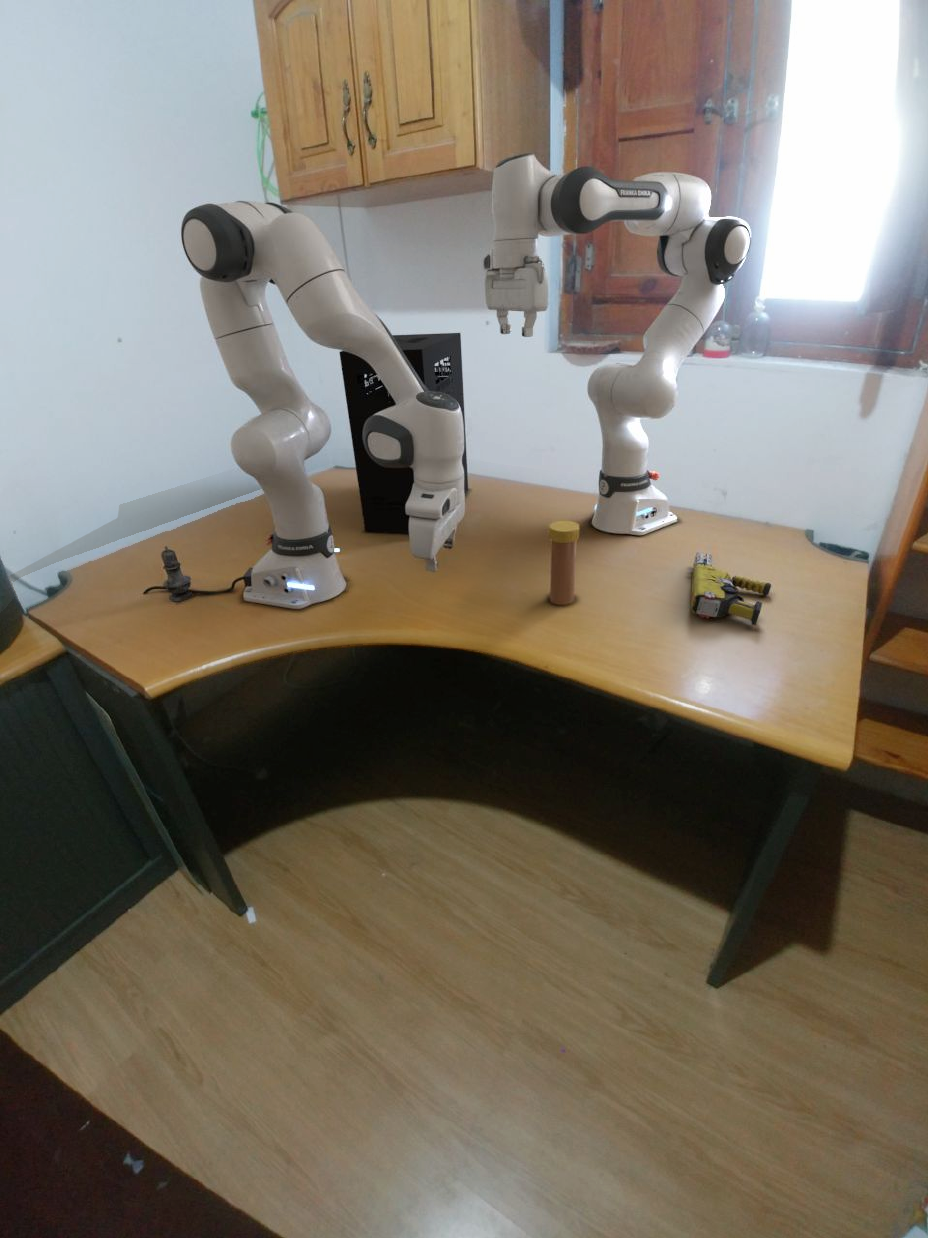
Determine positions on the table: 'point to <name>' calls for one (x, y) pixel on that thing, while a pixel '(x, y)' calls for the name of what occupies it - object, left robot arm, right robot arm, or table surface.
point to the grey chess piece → (175, 577)
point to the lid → (564, 531)
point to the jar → (562, 572)
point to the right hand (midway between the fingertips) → (516, 335)
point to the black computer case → (379, 484)
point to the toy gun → (722, 592)
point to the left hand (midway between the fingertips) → (440, 558)
